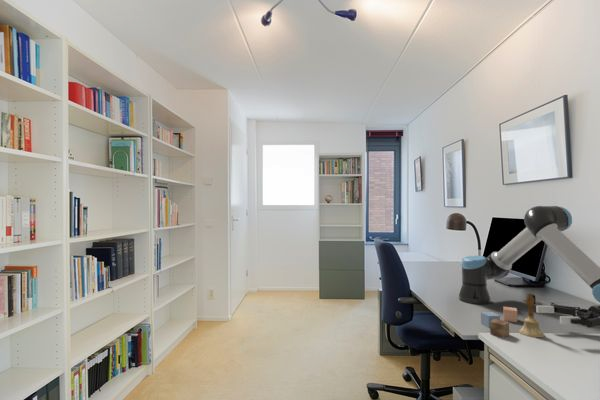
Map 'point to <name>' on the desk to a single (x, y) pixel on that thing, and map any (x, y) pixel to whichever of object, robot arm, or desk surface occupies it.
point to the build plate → (533, 297)
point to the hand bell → (531, 321)
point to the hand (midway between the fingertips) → (547, 314)
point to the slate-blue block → (488, 318)
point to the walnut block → (499, 328)
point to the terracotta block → (510, 314)
